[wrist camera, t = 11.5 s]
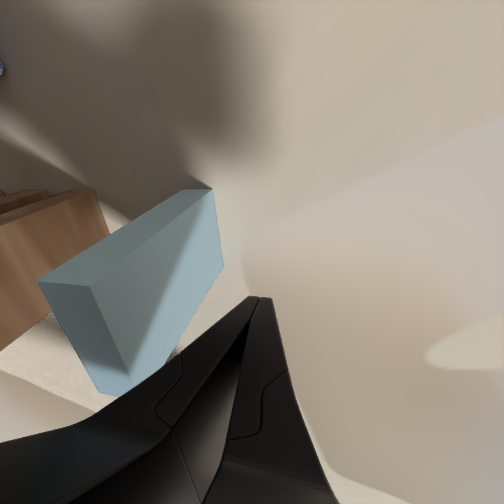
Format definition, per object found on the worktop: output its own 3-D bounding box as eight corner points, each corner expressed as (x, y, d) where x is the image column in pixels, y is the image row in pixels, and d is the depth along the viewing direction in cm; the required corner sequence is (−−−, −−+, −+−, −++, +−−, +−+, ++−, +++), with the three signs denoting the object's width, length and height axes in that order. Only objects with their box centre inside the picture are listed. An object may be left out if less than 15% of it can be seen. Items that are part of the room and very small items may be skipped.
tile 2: (93, 189, 16) (-106, 267, 9) (119, 259, 19) (-21, 367, 11) (70, 190, 17) (-140, 264, 9) (98, 258, 19) (-50, 361, 12)
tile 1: (212, 188, 15) (89, 286, 7) (223, 266, 17) (141, 401, 9) (182, 189, 15) (35, 280, 7) (198, 264, 17) (98, 392, 10)
